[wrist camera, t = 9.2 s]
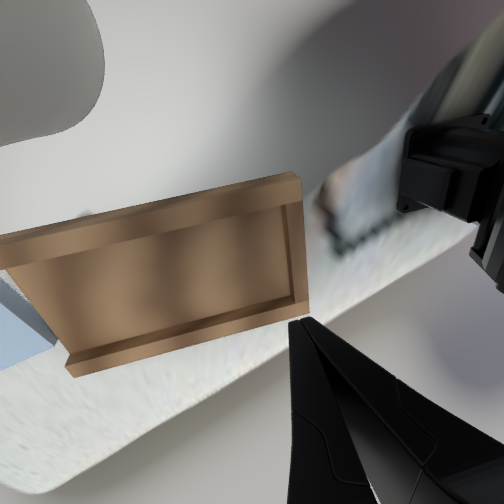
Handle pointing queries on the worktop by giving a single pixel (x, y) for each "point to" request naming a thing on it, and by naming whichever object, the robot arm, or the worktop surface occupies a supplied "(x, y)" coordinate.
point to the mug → (47, 67)
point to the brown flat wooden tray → (166, 271)
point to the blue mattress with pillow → (21, 329)
